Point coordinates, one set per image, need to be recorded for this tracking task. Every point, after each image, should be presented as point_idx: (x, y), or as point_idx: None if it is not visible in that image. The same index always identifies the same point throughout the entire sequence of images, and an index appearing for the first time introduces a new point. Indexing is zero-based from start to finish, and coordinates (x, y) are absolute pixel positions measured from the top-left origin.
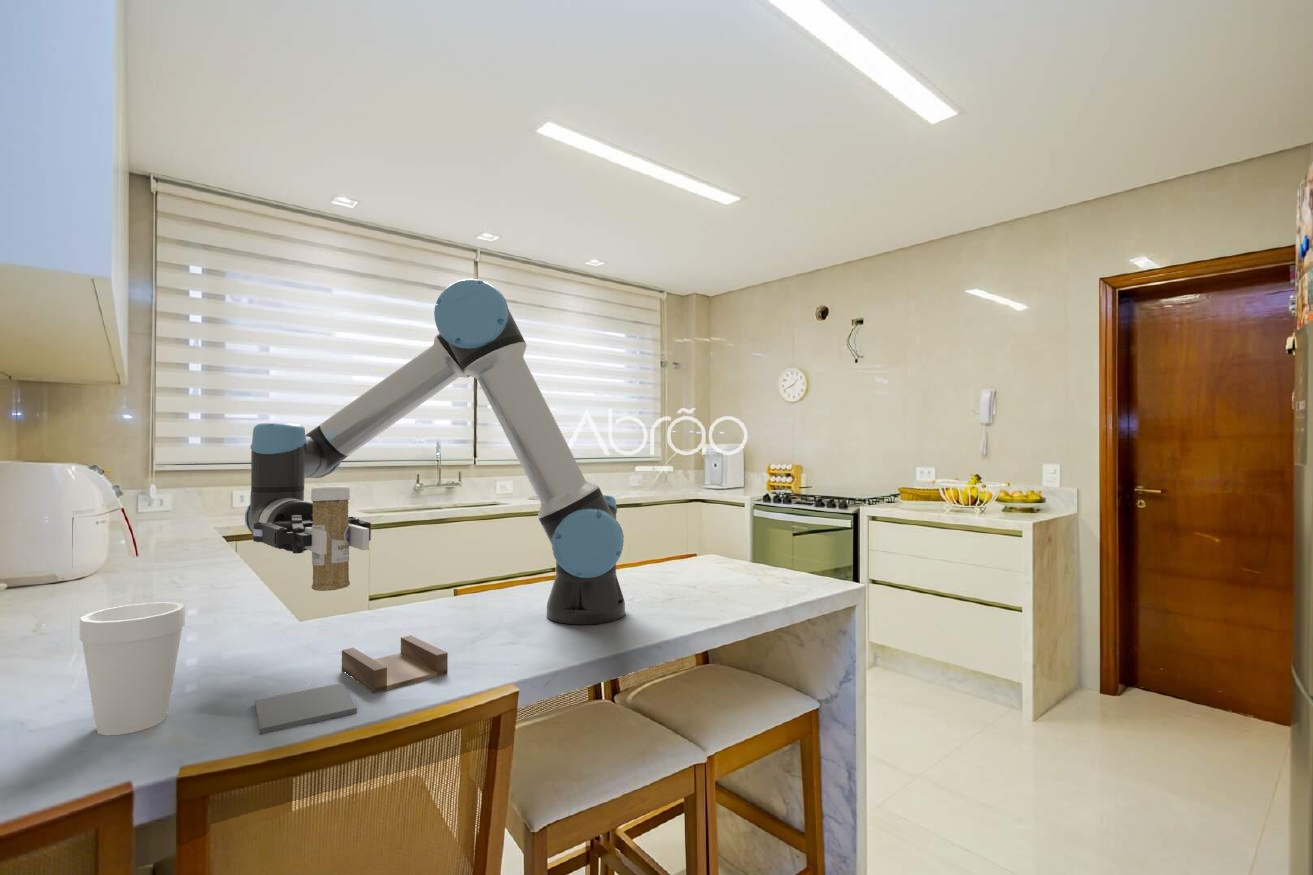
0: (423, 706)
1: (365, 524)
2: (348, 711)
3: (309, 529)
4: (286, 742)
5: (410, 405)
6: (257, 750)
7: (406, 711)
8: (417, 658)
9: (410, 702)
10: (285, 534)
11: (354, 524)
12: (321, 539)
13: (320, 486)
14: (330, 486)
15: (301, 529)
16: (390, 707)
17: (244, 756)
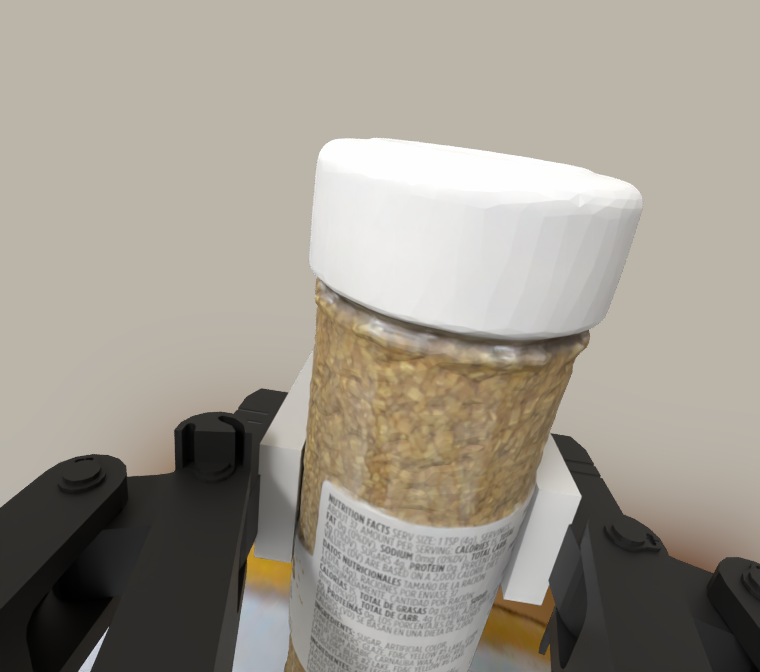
0: (246, 598)
1: (119, 466)
2: None
3: (549, 435)
4: (482, 655)
5: None
6: (527, 664)
7: (279, 604)
8: None
9: (243, 636)
10: (701, 575)
11: (237, 448)
12: None
13: (566, 165)
14: (497, 156)
15: (600, 516)
16: (283, 647)
17: (546, 658)
